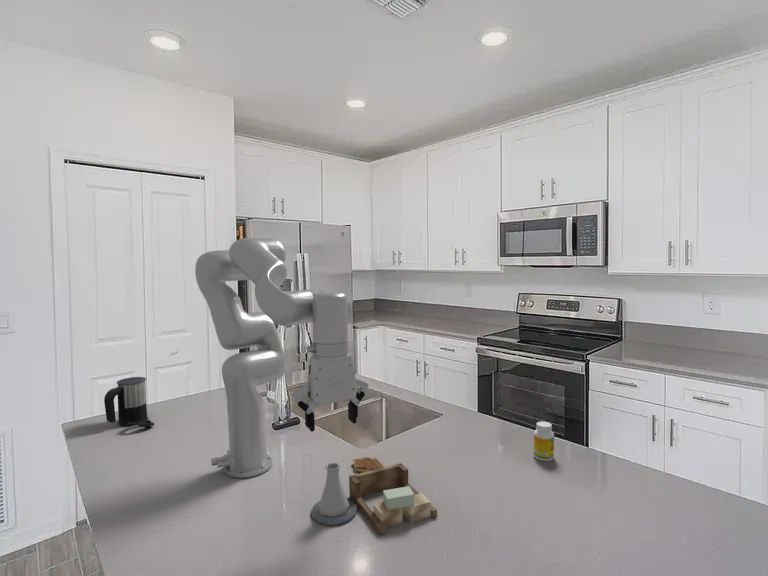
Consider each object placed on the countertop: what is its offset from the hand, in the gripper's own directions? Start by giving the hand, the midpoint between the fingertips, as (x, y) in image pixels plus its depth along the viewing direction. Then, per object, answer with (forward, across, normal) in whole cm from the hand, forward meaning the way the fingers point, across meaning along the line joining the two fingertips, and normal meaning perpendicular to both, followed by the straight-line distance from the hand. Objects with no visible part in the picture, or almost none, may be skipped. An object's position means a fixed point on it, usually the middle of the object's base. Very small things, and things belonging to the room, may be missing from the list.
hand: (332, 425), depth 99 cm
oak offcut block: (+20, +9, -9) cm, 24 cm away
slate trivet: (+20, 0, 0) cm, 20 cm away
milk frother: (+21, -42, +80) cm, 93 cm away
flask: (+19, 0, 0) cm, 19 cm away
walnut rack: (+20, +13, -4) cm, 24 cm away
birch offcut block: (+20, +16, -10) cm, 27 cm away
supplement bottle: (+20, +62, -2) cm, 65 cm away
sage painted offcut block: (+17, +12, -9) cm, 22 cm away
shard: (+21, +17, +15) cm, 31 cm away
